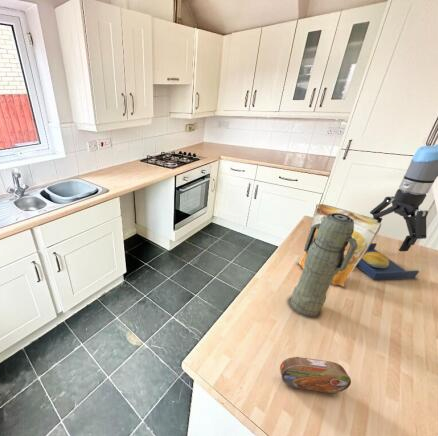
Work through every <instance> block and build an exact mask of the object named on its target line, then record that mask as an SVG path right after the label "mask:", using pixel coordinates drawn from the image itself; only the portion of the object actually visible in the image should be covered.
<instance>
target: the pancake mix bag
mask: <svg viewBox="0 0 438 436" xmlns="http://www.w3.org/2000/svg"><path fill="white" fill-rule="evenodd" d="M331 213H340V214H344V215H347V216H349V217H350V218H352V219H353V220H354V231H353V234H352V238H353V239H355V240H356V242H357V245H358V246H357V248H356V250H355V252H354V254H353V256H352V258H351V259H350V261H349V263H348V266H347V268H346V269H345V270H341V271H338V273H337V274H336V275H334V277H333V279H332V282H331V284H330V285H333V286H340V287H343V288H344V287H345V281H346V280H347V279H348V277H349V276H350V275H351V274H352V272H353V271H354V269H355V268H356V267H357V264H358V262H359V261H360V259H361V258H362V257H363V255H364V253H365V252H366V251H367V250H368V248H369V246H370V245H371V243H373V241H374V239H375V237H376V236H377V235H378V233H379V231H380V230H381V227H382V222H381V223H379V222H378V220H376V219H374V218H373V217H371V216H366V215H364V214H359V213H355V212H353V211H350V210H347V209H343V208H339V207H335V206H332V205H329V204H324V203H317V204H316V206H315V209H314V212H313V216H312V221H311V224H310V228H309V231H308V236H309V233H310V231H311V228H312V227H313V226H314V225H316V224H319V223H320V224H321V222H322V220H323V219H324V218H325V217H326V216H327V215H328V214H331ZM318 230H319V229H317V228H316V231H315V234H314V236H313V239H312V242H311V245H312V244H313V243H314V240H315V239H316V235H317V232H318ZM308 236H307V237H308ZM311 245H310V246H311ZM349 247H350V244H349V242H348V245H347V246H346V247H345V251H344V258H345V256H346V254H347V252H348V249H349ZM303 252H304V253H303V255H302V258H301V260H300V262H299V263H298V265H299V266H301V267H302V268H301V269H302V270H303V269H304V266H305V263H304V261H305V258H306V255H307V254H306V252H305V251H303Z"/></svg>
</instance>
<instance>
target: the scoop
mask: <svg viewBox="0 0 438 436" xmlns="http://www.w3.org/2000/svg"><path fill="white" fill-rule="evenodd" d="M376 247H377V243H376V242H372V243H371V245H370V246H369V248H368V250H367V251H366V252H365V253H367V252H378V251H377V250H376V249H375V248H376ZM365 253H364V254H365ZM378 253H380V252H378ZM363 256H364V255H363ZM388 260H389V266H388V267H386V268H375V267H372V266H369V265H367V264H366V263H365V262H364V261H362V258H361V259H360V261H359V262H358V264H357V265H356V267H358V268H359V269H360V270H361V271H363V273H365V274H366V275H368V276H369V277H370V278H371V279H372V280H374V281H384V280H387V281H388V280H407V279H408V280H409V279H410V280H411V279H416V278H417V276H418V274H419V273H420V270H405V268H402V267H401V266H399V265H398V264H396V263H395V262H394V261H392V260H391V259H389V258H388Z"/></svg>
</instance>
